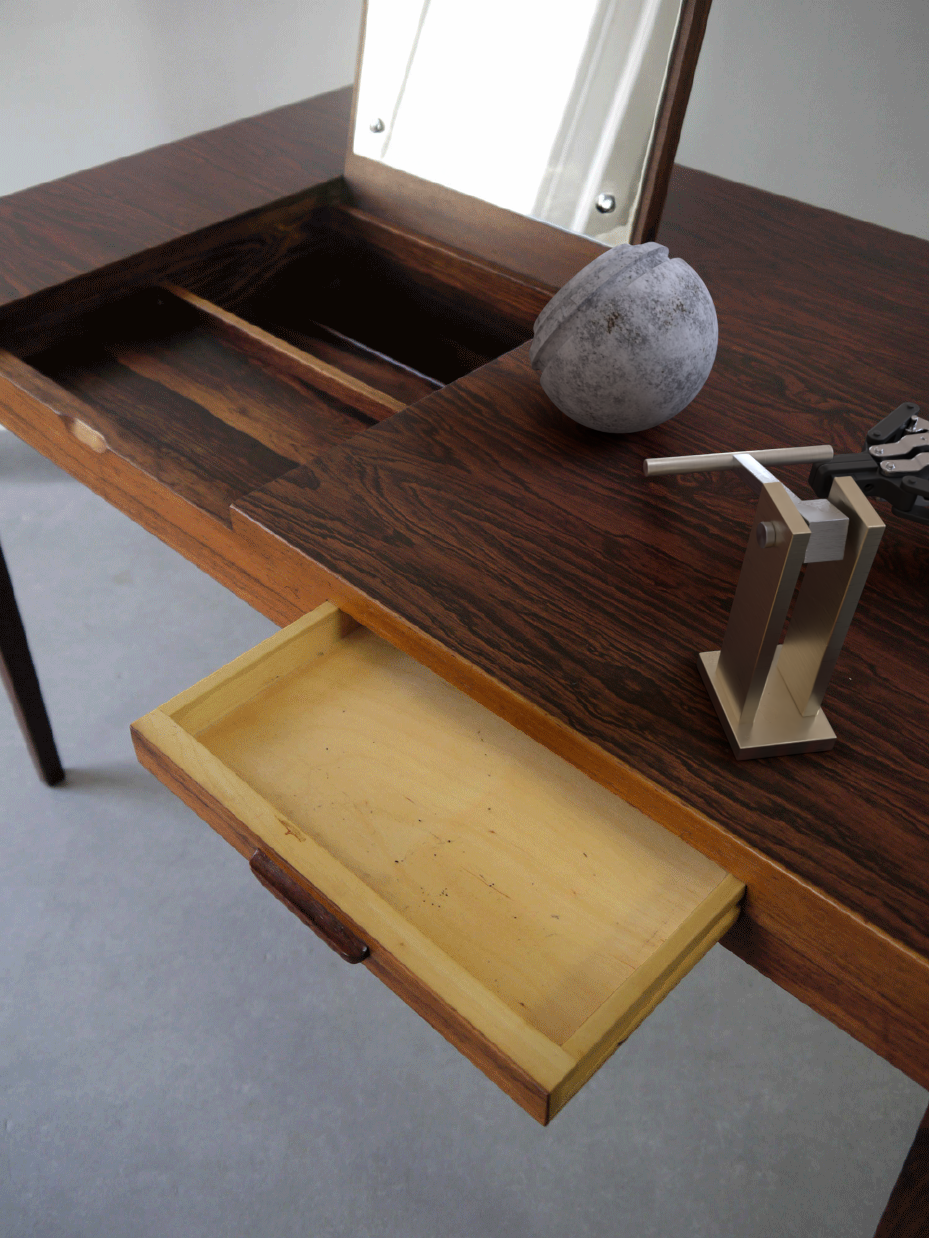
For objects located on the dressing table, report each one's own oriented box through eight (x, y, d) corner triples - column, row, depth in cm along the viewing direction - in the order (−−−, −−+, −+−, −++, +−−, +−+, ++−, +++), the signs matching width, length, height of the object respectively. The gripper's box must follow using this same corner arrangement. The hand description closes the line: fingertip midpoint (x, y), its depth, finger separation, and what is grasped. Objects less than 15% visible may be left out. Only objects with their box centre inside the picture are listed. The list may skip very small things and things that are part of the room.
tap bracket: (695, 665, 68) (742, 463, 57) (783, 656, 69) (846, 455, 58) (736, 761, 63) (797, 557, 52) (832, 750, 63) (912, 547, 52)
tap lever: (641, 483, 66) (643, 446, 65) (823, 468, 67) (828, 432, 66) (714, 572, 55) (718, 529, 54) (930, 552, 56) (938, 510, 55)
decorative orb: (599, 357, 97) (617, 193, 87) (734, 416, 90) (772, 246, 80) (492, 421, 89) (498, 249, 79) (632, 492, 82) (659, 314, 72)
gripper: (1033, 357, 72) (790, 373, 70) (1151, 470, 62) (874, 492, 60) (993, 449, 77) (766, 467, 75) (1097, 566, 67) (840, 590, 66)
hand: (815, 478), depth 68 cm, fingers closed
